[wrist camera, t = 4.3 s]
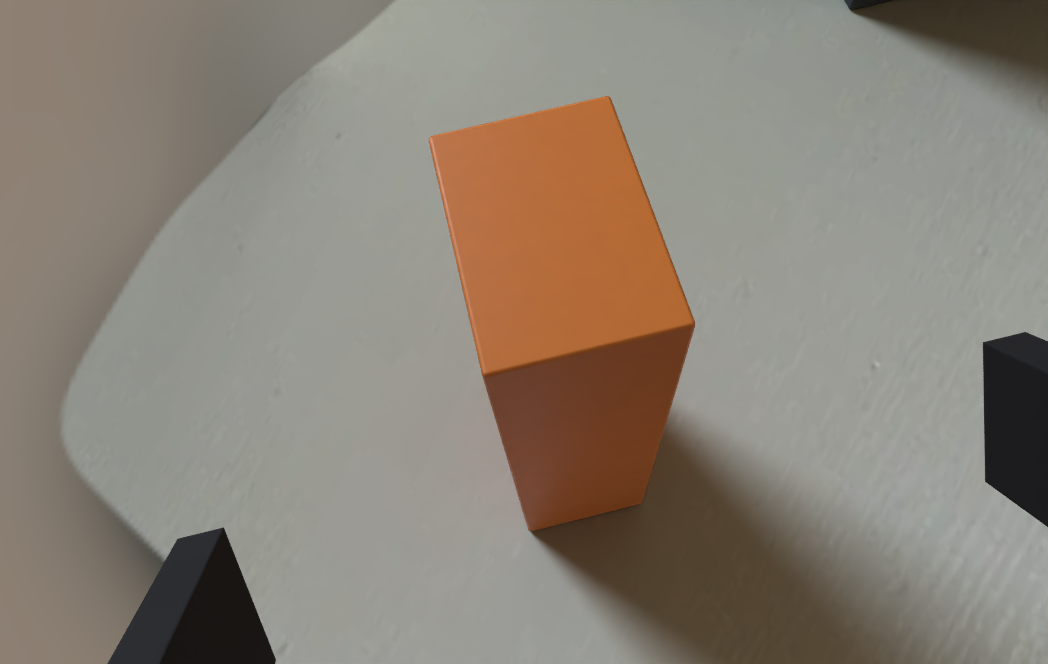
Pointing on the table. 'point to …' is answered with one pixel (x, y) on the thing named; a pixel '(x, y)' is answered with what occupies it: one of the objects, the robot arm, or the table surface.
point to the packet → (566, 303)
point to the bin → (862, 3)
